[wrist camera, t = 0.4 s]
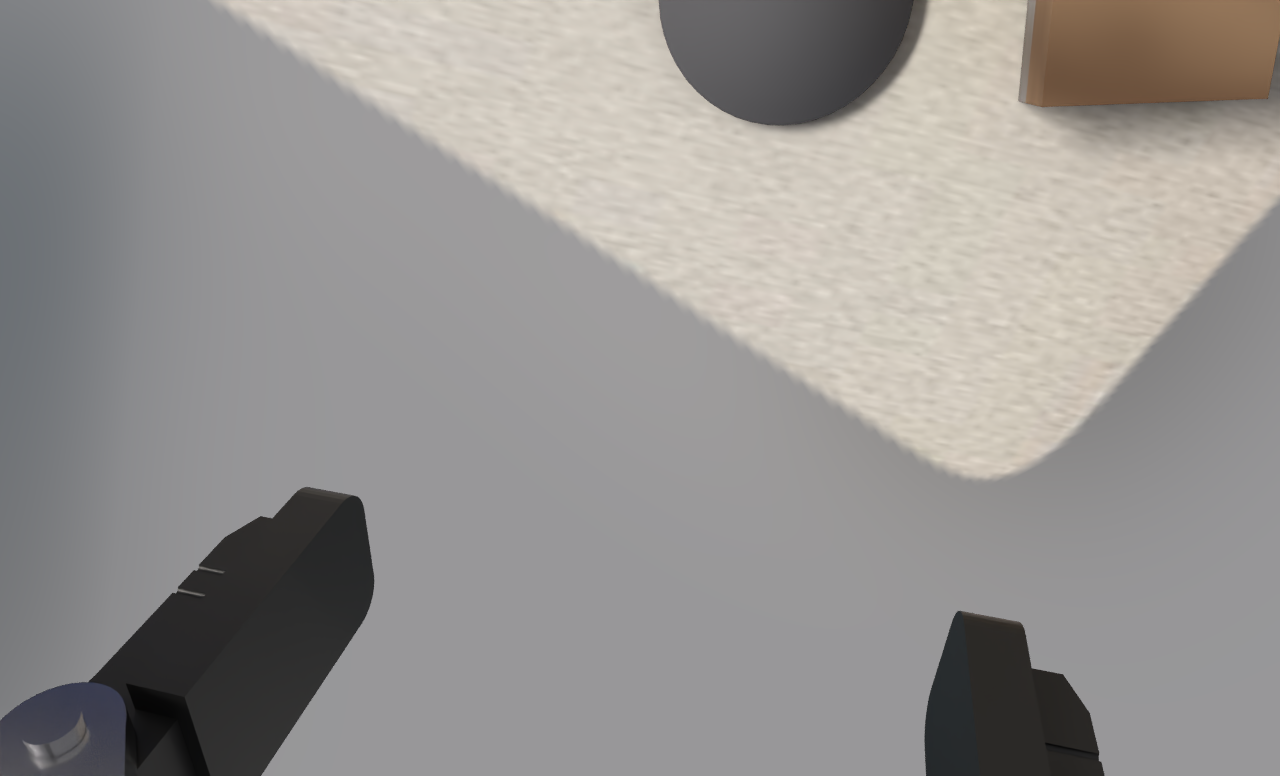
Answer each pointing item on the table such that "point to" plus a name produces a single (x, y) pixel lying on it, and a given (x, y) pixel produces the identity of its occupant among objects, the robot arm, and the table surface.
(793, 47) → the rubber pad
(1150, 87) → the body
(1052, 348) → the table surface
